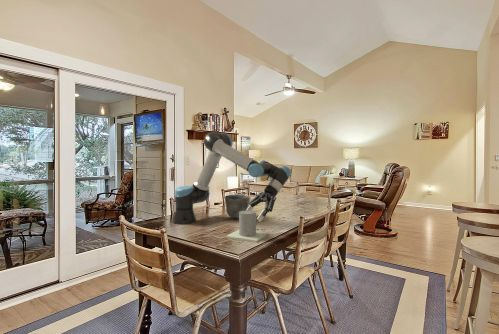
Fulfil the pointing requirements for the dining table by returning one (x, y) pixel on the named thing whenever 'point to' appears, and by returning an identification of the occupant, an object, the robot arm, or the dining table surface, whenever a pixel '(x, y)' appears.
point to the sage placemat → (255, 238)
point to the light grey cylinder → (247, 223)
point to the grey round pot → (236, 204)
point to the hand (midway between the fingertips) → (251, 217)
